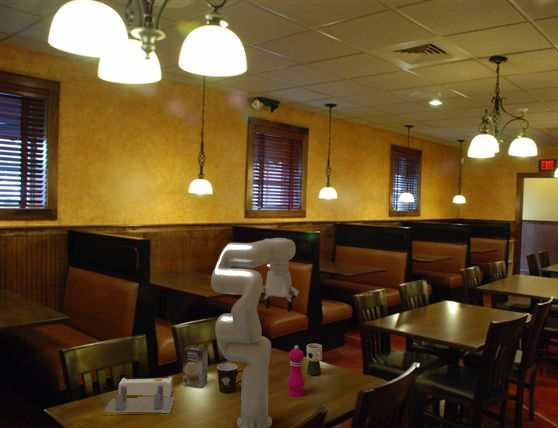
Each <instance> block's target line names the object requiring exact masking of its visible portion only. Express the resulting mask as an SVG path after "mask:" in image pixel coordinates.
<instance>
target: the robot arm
mask: <svg viewBox="0 0 558 428" xmlns="http://www.w3.org/2000/svg"><path fill="white" fill-rule="evenodd" d="M296 247H297V246H296V243H295V242H294V241H293V240H292V239H288V238H285V237H274V238H264V239H263V240H258V241H254V242H229V243H227V244H226V245H225V246H224V248H222V251H221V253H220V255H219V256H218V260H217V262H216V264H215V266H214V269H213V271H212V274H211V278H210V285H211V288H212V290H213V291H214V292H216V293H217V294H221V295H222V294H226V295H238V296H239V295H241V297H240V298H239V299H237V301H236V302H235V303H234V304H233V306H232V307H231V310H230V313H223V314H221V315H219V317H218V318H217V320H216V322H215V332H214V333H215V337H216V341H217V343H218V345H219V348H220V350H221V354H222V355H223V357H224V358H225V359H226V360H228V361H232V362H241V363H242V362H243V363H247V366H246V367H245V368H244V369H243V370H244V371H243V372H242V373H241V379H240V380H241V382H240V383H241V384H240V385H241V387H240V388H241V390H240V393H241V396H240V397H241V398H240V401H241V403H240V407H241V409H240V416H239V417H237V419H236V426H237V427H238V428H270V427H272V425H273V419H272V417H271V416H270V415H269V368H270V367H269V366H270V358H271V352H272V342H271V340H269V339H268V338H267V337H266V336H263V335H262V332H263V331H262V325H261V321H260V318H259V314H258V309H257V308H258V305H259V301H260V299H261V296H262V298H263V299H264V306H265V310H269V309H270V308H271V297H278V298H286V299H287V308H286V309H287V312H289V313H290V312H291V311H292V310H293V309H294V308H293V307H294V306H293V305H294V303H293V302H294V300H295V299H296V298H297V297H298V295H299V294H300V290H298V289H297V288H295V287H294V286H292V276H291V273H290V271H289V261H290V260H292V259H293V257H294V256H295V255H296ZM265 264H267V265H266V267H267V269H269V270H268V271H267V275H266V279H265V280H266V281H265V285H263V283H264V281H263V276H262V274H261V273H260V272H259V271H257V270H254V268H257V267H260V266H262V265H265ZM251 268H253V269H251ZM292 292H293V295H292Z"/></svg>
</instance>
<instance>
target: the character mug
mask: <svg viewBox="0 0 558 428" xmlns="http://www.w3.org/2000/svg"><path fill="white" fill-rule="evenodd" d="M306 360H307V361H308V363H307V372H306V373H307V374H308V375H312V376H317V375H319V374H321V373H322V371H321V363H320V362H321V361H322V360H323V346H322V344H319V343H309V344H307V345H306Z"/></svg>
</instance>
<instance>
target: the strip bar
mask: <svg viewBox="0 0 558 428" xmlns="http://www.w3.org/2000/svg"><path fill="white" fill-rule="evenodd" d="M122 386H127V395H143V396H144V395H145V396H147V395H148V396H149V395H155V394H157V388H158V386H163V396H167V397H171V396H170V395H172V393H171V392H173V376H169V377H168V378H163V377H155V378H134V379H133V378H130V379H127V378H126V377H122V379H121V380H120V382H119V384H118V395H121V387H122Z"/></svg>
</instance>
